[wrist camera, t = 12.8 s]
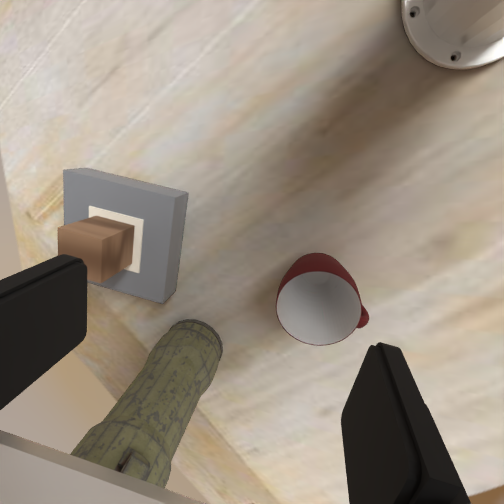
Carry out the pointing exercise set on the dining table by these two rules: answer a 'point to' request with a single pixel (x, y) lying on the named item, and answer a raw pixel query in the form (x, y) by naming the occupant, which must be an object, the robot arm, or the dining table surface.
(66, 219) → the slate pedestal
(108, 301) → the dining table surface
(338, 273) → the mug
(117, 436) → the thermos
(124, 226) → the walnut block
